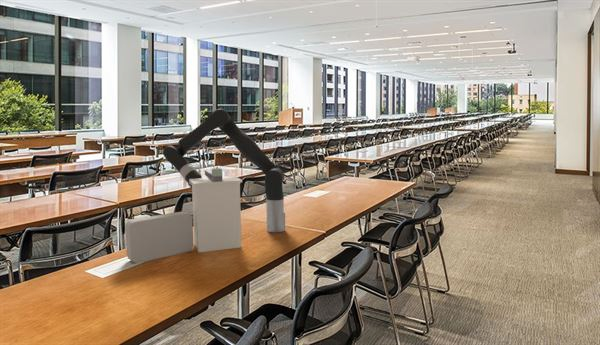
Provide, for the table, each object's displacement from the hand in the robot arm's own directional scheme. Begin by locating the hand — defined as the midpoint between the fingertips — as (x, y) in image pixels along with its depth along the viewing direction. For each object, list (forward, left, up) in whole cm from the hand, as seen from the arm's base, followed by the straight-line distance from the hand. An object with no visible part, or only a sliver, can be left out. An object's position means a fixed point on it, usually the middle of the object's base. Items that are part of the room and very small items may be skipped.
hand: (209, 196), depth 225 cm
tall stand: (-1, +14, -22) cm, 26 cm away
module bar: (-1, +8, +10) cm, 13 cm away
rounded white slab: (+25, +18, -22) cm, 38 cm away
